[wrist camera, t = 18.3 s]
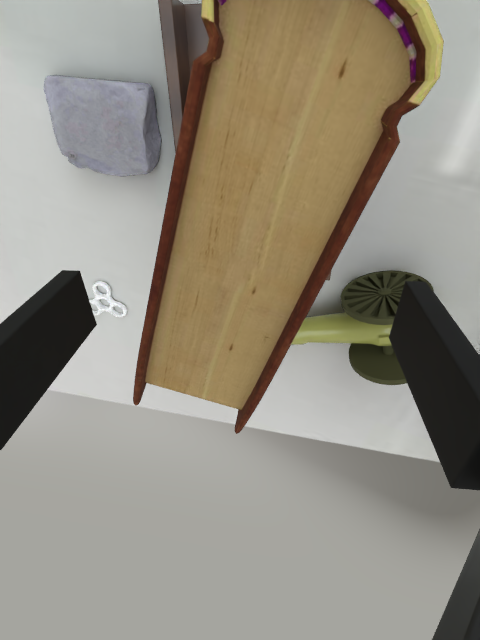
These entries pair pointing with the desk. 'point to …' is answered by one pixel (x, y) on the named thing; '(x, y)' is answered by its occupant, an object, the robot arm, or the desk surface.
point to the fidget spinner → (107, 297)
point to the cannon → (364, 325)
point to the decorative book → (273, 180)
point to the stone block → (104, 124)
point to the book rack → (181, 52)
